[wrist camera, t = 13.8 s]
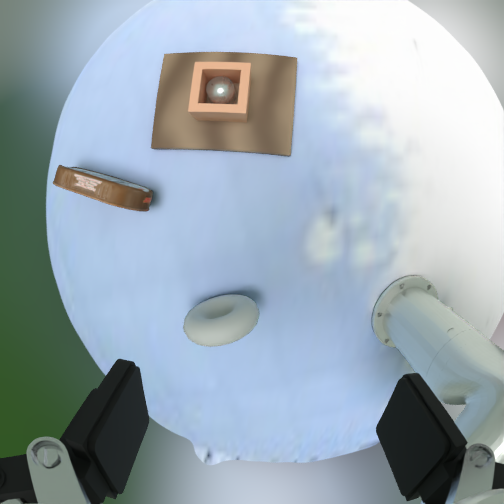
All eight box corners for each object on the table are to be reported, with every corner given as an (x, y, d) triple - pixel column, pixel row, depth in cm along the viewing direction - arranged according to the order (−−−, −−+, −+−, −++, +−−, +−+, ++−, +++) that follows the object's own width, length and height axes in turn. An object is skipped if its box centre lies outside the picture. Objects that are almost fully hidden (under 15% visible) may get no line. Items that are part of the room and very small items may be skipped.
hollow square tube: (251, 77, 31) (250, 62, 27) (247, 122, 33) (245, 113, 28) (202, 76, 31) (194, 61, 26) (196, 120, 33) (188, 111, 28)
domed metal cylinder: (237, 87, 32) (235, 76, 28) (234, 109, 33) (232, 101, 29) (212, 86, 32) (207, 76, 28) (209, 108, 33) (204, 100, 29)
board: (295, 61, 32) (297, 57, 31) (288, 156, 35) (290, 155, 34) (167, 58, 32) (164, 54, 30) (154, 149, 35) (151, 148, 34)
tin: (74, 182, 36) (40, 185, 28) (79, 162, 36) (45, 161, 27) (157, 210, 37) (133, 218, 29) (163, 188, 37) (140, 191, 28)
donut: (195, 319, 41) (180, 357, 32) (188, 298, 40) (170, 333, 31) (261, 306, 41) (263, 343, 31) (255, 284, 40) (256, 317, 30)
